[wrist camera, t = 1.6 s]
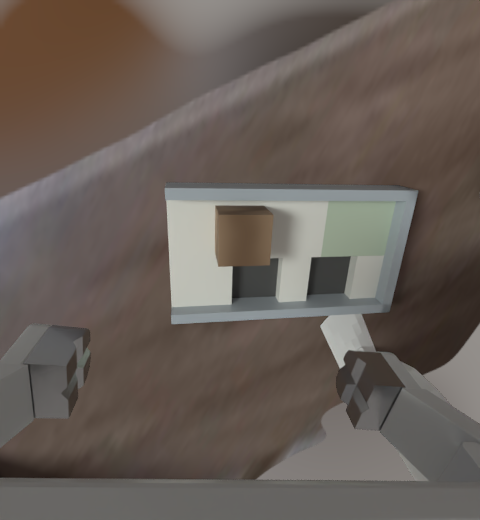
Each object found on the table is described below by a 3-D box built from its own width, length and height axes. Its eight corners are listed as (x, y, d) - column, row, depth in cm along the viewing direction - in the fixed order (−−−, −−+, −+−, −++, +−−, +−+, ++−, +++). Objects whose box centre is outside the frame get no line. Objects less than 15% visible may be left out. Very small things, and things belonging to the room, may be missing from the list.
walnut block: (263, 205, 30) (273, 214, 26) (261, 251, 31) (269, 265, 28) (215, 205, 29) (218, 214, 26) (214, 252, 30) (218, 266, 27)
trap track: (398, 185, 33) (418, 190, 30) (374, 298, 37) (389, 312, 35) (166, 182, 29) (164, 188, 26) (172, 308, 34) (171, 324, 31)
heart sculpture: (388, 382, 43) (514, 539, 26) (354, 398, 43) (458, 565, 27) (353, 293, 37) (490, 427, 20) (314, 313, 37) (418, 462, 20)
